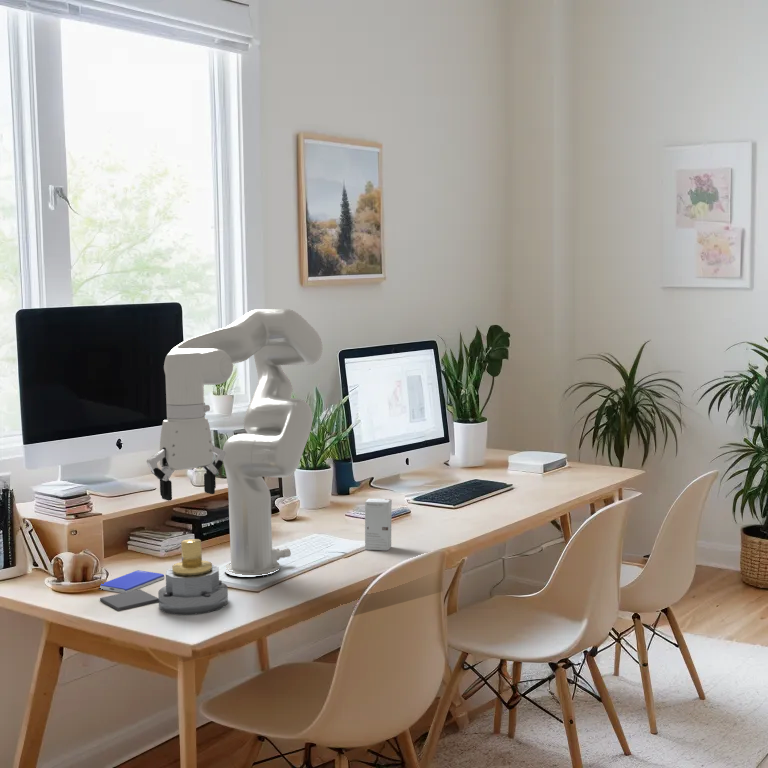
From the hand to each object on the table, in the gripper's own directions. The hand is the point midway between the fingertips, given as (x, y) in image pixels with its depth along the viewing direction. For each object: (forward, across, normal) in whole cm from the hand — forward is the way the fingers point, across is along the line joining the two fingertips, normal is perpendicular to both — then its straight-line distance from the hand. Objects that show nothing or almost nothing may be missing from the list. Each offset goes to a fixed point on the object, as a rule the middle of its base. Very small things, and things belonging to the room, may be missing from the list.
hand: (188, 496), depth 206 cm
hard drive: (+23, +2, -23) cm, 33 cm away
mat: (+22, +8, -11) cm, 27 cm away
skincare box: (+22, -56, -9) cm, 61 cm away
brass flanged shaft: (+20, 0, 0) cm, 20 cm away
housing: (+22, 0, 0) cm, 23 cm away
